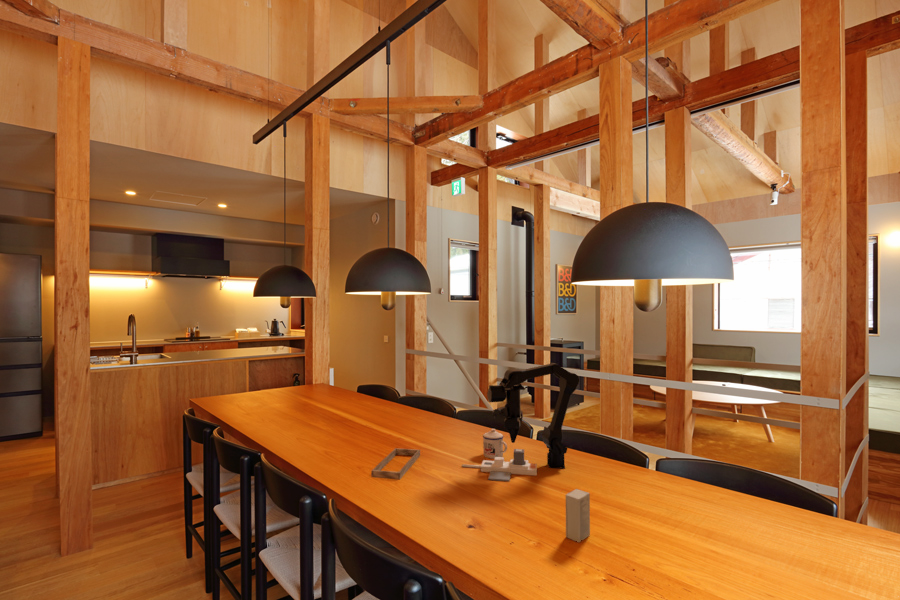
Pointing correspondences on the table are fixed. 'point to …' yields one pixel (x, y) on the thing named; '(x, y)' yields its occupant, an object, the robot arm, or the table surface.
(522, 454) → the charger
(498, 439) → the teacup with lid
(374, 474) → the wooden frame
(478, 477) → the table surface
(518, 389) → the robot arm
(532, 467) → the power strip
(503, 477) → the coaster
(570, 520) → the skincare box
